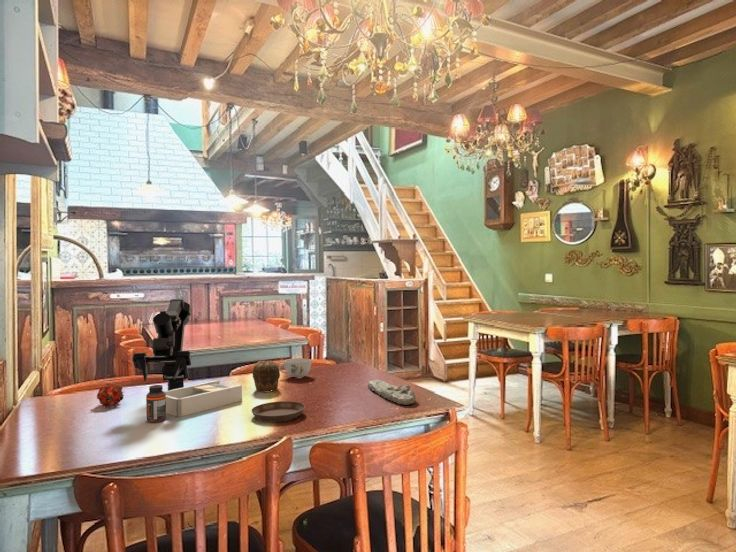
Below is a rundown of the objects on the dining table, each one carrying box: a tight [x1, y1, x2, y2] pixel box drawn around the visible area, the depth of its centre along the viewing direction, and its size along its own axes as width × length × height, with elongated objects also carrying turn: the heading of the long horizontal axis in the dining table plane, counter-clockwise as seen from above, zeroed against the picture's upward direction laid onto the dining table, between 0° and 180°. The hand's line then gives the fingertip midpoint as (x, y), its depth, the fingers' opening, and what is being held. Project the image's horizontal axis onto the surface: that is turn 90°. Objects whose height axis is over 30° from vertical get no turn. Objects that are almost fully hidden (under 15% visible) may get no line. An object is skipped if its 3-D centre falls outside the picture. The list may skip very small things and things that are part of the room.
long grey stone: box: [367, 379, 417, 406], centre depth 193 cm, size 35×5×10 cm
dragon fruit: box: [96, 382, 125, 408], centre depth 183 cm, size 8×8×12 cm
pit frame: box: [163, 379, 243, 418], centre depth 182 cm, size 15×26×6 cm, turn 142°
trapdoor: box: [193, 383, 230, 392], centre depth 186 cm, size 12×9×3 cm
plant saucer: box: [250, 400, 306, 423], centre depth 167 cm, size 18×18×3 cm
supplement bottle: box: [145, 384, 167, 423], centre depth 164 cm, size 6×6×11 cm
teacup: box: [278, 357, 313, 378], centre depth 228 cm, size 15×12×8 cm
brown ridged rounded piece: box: [252, 360, 281, 392], centre depth 204 cm, size 11×11×12 cm
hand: (159, 379), depth 169 cm, fingers open, 9 cm apart
